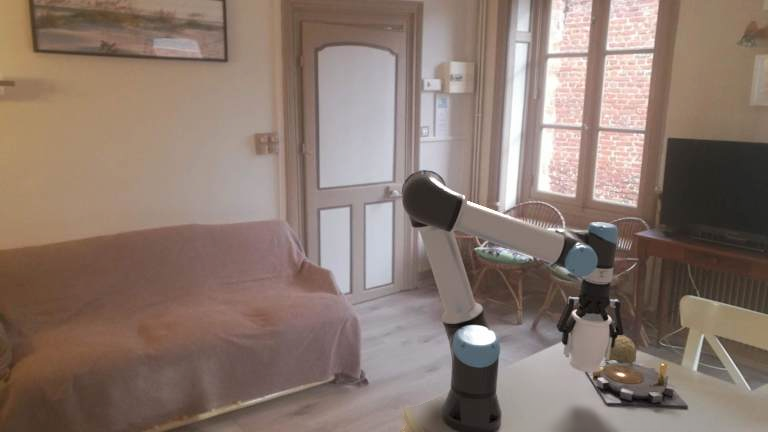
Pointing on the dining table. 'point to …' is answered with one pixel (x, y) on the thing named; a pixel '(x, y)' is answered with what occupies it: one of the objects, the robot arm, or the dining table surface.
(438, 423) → the dining table surface
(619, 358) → the decorative object
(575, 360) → the jar
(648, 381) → the sprocket
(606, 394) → the base plate
